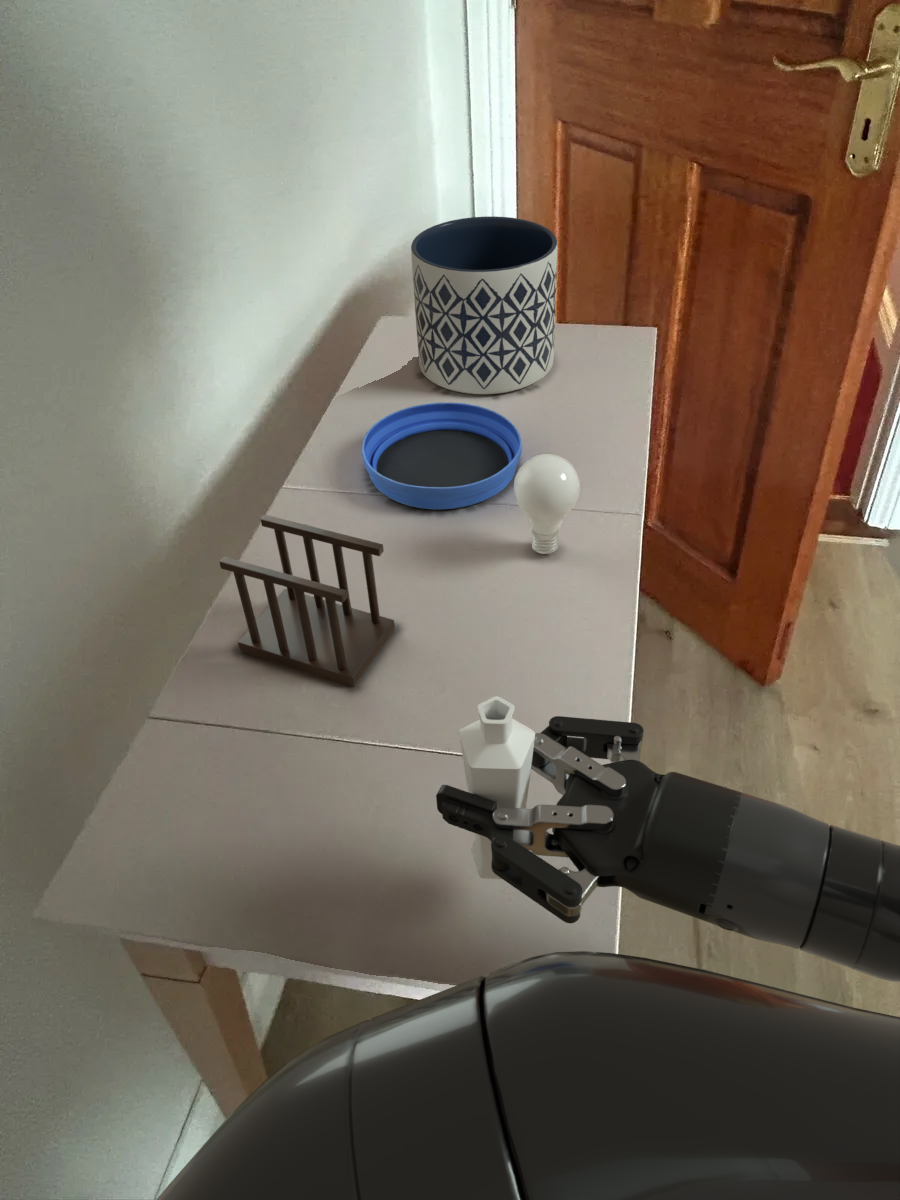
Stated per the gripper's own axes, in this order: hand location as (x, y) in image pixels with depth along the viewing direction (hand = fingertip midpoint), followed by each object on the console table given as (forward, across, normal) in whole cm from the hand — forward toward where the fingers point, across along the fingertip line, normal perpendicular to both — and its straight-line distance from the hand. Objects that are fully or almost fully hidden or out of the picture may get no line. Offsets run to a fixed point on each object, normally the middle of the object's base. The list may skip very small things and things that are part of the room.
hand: (457, 767), depth 57 cm
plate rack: (+22, -17, +12) cm, 31 cm away
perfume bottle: (-3, 0, +9) cm, 9 cm away
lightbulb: (+7, -37, +12) cm, 40 cm away
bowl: (+23, -47, +12) cm, 54 cm away
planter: (+28, -72, +12) cm, 78 cm away
